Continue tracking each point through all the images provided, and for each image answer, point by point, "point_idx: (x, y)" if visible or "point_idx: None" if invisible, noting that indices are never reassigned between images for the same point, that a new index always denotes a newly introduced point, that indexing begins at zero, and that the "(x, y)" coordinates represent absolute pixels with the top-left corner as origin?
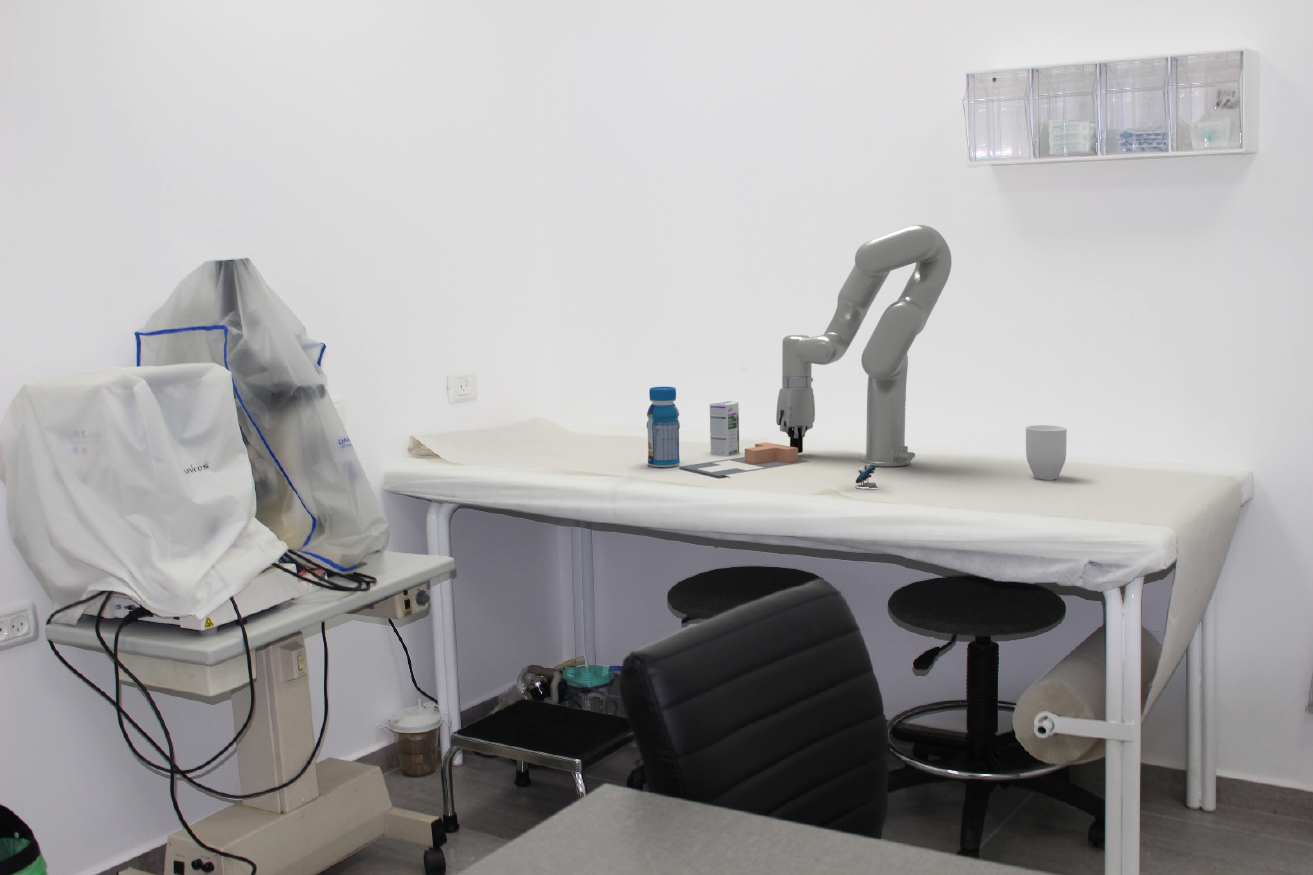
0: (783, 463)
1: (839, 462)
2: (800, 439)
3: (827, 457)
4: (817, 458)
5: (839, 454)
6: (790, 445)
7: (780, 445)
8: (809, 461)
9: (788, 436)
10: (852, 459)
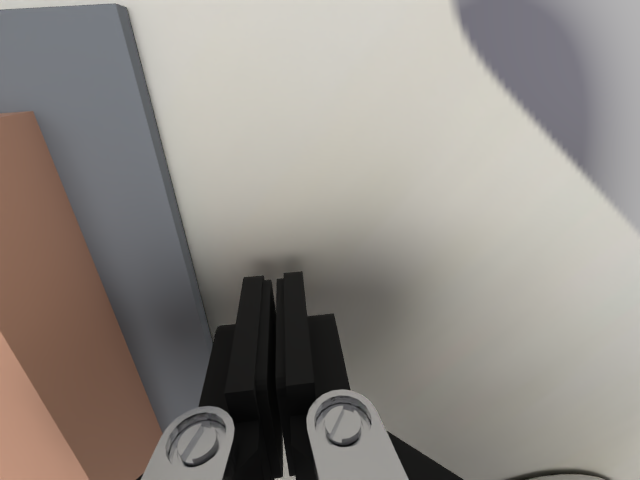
0: None
1: None
2: (291, 468)
3: (472, 352)
4: (398, 349)
5: (616, 312)
6: (213, 353)
7: (18, 427)
8: None
9: (171, 429)
10: (509, 442)
